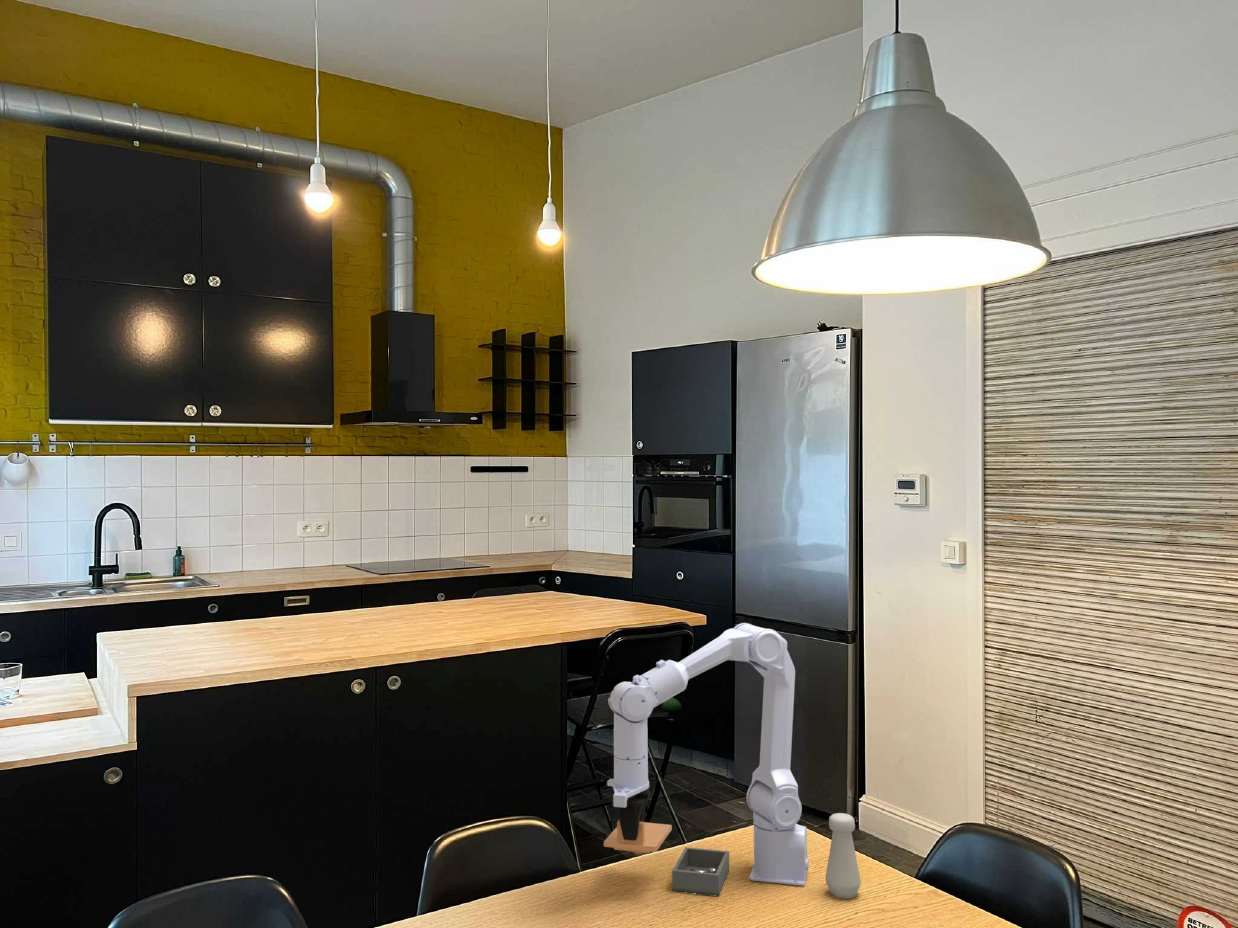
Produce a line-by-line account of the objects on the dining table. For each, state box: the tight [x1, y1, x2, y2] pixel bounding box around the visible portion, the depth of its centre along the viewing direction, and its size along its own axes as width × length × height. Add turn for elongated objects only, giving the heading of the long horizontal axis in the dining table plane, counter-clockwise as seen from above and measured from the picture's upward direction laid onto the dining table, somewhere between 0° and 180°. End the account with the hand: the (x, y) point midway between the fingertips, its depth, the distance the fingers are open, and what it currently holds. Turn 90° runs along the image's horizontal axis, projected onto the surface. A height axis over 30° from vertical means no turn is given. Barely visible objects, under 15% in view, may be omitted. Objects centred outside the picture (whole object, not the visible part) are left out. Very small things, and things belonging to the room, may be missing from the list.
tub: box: [671, 846, 730, 897], centre depth 161 cm, size 8×11×4 cm
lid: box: [603, 819, 673, 854], centre depth 160 cm, size 9×12×5 cm
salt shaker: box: [825, 812, 862, 900], centre depth 156 cm, size 6×6×13 cm
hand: (631, 837), depth 155 cm, fingers closed on lid
